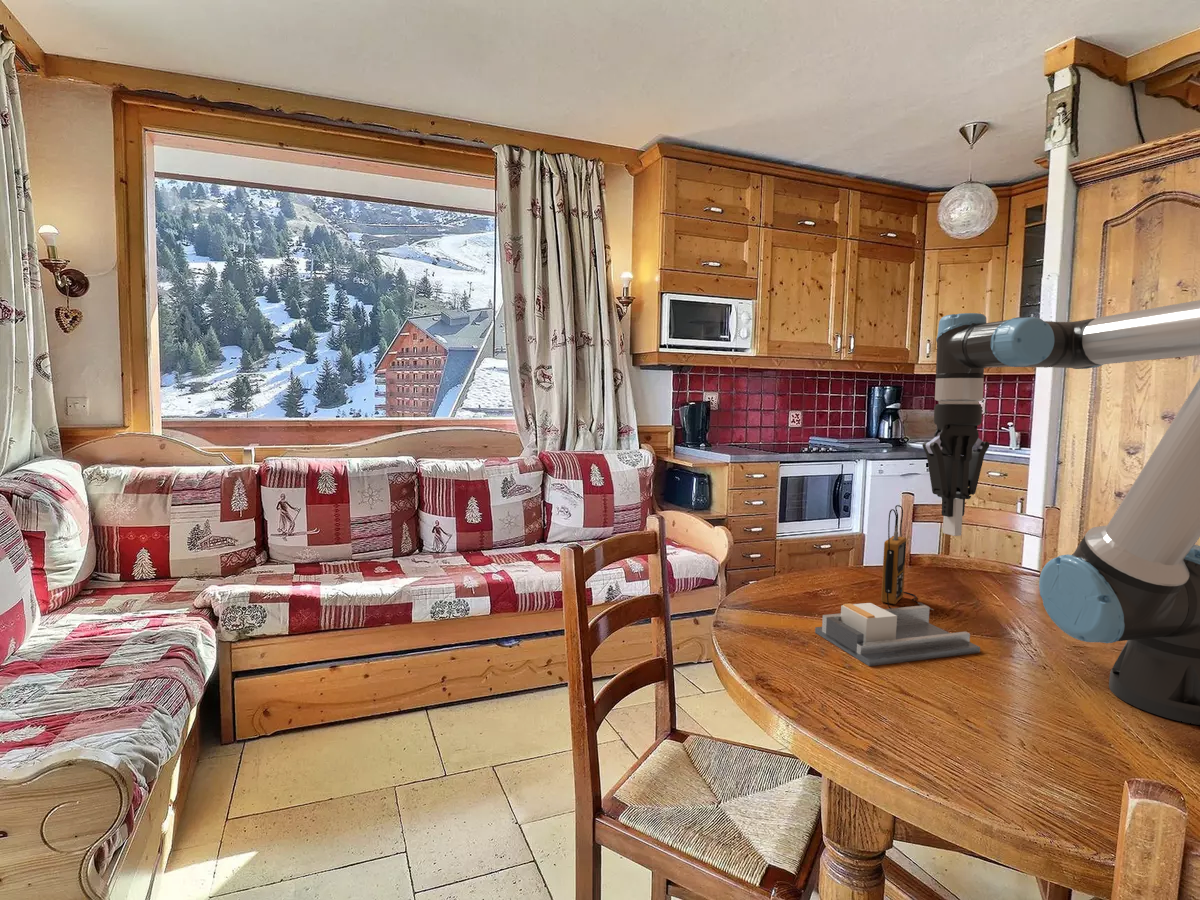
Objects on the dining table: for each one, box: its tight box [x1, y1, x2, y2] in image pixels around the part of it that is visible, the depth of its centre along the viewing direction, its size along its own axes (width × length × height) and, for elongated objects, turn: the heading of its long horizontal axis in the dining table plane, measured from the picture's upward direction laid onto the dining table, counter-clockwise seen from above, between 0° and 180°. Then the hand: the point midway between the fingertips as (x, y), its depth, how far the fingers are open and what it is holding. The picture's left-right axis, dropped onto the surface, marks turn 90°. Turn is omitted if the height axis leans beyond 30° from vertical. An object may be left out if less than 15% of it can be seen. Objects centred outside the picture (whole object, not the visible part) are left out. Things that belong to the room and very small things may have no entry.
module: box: [840, 602, 897, 643], centre depth 116 cm, size 7×6×5 cm
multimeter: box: [880, 504, 934, 611], centre depth 138 cm, size 15×10×20 cm
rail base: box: [814, 604, 981, 667], centre depth 117 cm, size 15×22×4 cm
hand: (951, 534), depth 120 cm, fingers closed
